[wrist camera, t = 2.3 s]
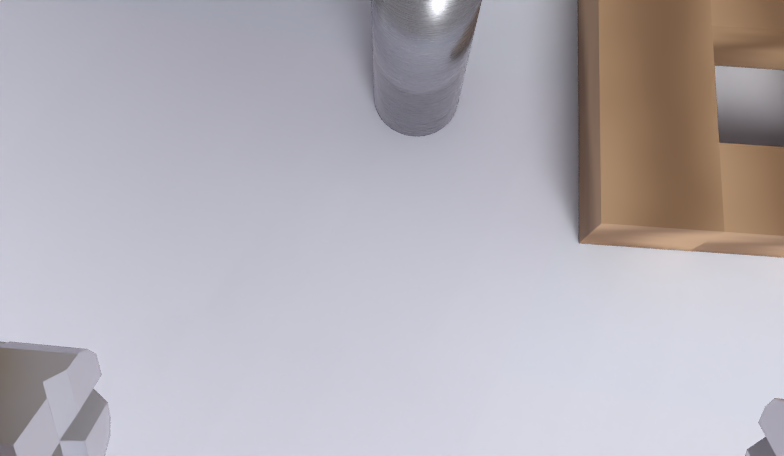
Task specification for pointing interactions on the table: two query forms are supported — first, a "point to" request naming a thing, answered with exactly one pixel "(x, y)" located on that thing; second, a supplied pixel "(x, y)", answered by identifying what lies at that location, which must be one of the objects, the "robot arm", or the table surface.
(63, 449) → the robot arm
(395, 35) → the pin
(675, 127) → the hole plate
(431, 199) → the table surface
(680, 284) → the table surface
